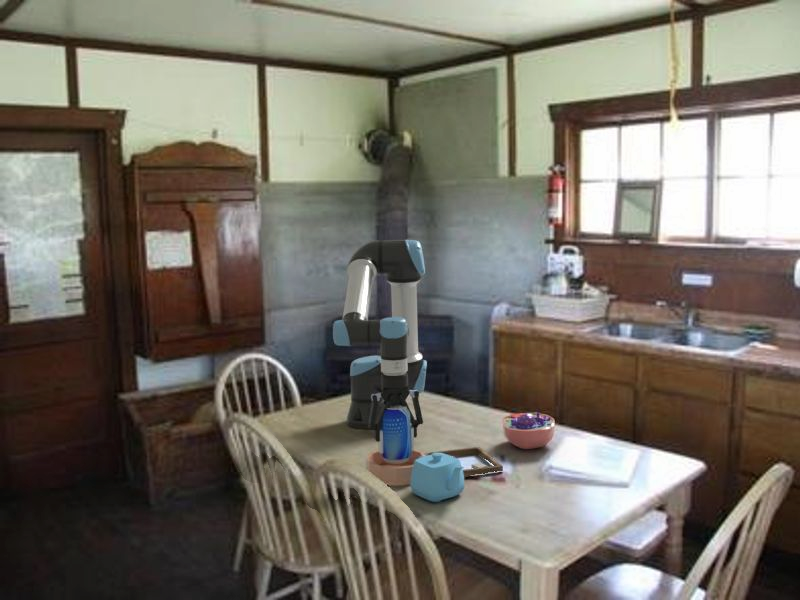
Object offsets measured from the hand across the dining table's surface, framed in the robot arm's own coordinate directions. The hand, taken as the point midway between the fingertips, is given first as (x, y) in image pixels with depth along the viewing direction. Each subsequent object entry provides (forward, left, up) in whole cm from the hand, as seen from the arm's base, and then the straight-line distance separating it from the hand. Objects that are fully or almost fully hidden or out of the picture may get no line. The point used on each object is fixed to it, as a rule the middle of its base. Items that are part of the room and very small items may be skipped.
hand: (396, 450), depth 219 cm
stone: (+6, +23, -8) cm, 25 cm away
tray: (0, +20, -7) cm, 21 cm away
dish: (0, 0, -7) cm, 7 cm away
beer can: (0, 0, -3) cm, 3 cm away
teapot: (+19, +7, -8) cm, 22 cm away
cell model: (-10, +46, -8) cm, 48 cm away
